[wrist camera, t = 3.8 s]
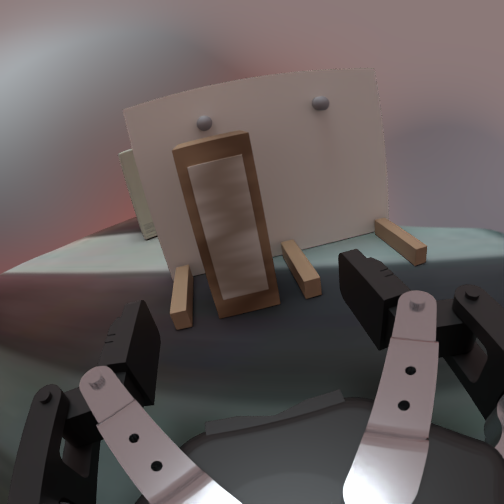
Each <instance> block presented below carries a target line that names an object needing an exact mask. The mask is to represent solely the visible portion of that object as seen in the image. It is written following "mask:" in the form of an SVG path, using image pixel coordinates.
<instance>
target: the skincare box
mask: <svg viewBox="0 0 504 504" xmlns="http://www.w3.org/2000/svg"><path fill="white" fill-rule="evenodd" d="M118 156H119V160H120V163H121V167H122V171H123V174H124V178H125V181H126V184H127V188H128V191H129V194H130V198H131V201H132V204H133V207H134V210H135V213H136V216H137V219H138V222H139V225H140V228H141V231H142V234H143V236H144V238H145V239H149V238H151V237H154V236H157V232H156V229H155V226H154V223H153V220H152V217H151V214H150V210H149V207H148V204H147V200H146V197H145V194H144V190H143V187H142V183H141V180H140V176H139V173H138V169H137V165H136V162H135V158H134V154H133V150H132V149H130V150H127V151H124V152H121V153H119V154H118Z"/></svg>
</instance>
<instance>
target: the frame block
mask: <svg viewBox="0 0 504 504" xmlns="http://www.w3.org/2000/svg"><path fill="white" fill-rule="evenodd" d="M172 154H173V158H174V162H175V166H176V170H177V173H178V177H179V181H180V185H181V189H182V193H183V196H184V200H185V204H186V207H187V211H188V215H189V218H190V222H191V225H192V229H193V233H194V236H195V240H196V243H197V246H198V250H199V253H200V257H201V260H202V263H203V267H204V270H205V273H206V277H207V280H208V283H209V286H210V290H211V293H212V296H213V299H214V302H215V306H216V309H217V312H218V315H219V318H220V319H221V318H225V317H229V316H233V315H238V314H242V313H246V312H250V311H254V310H258V309H262V308H266V307H270V306H274V305H278V304H281V303H280V298H279V292H278V286H277V280H276V275H275V269H274V264H273V258H272V252H271V247H270V241H269V236H268V231H267V225H266V220H265V214H264V209H263V204H262V198H261V193H260V188H259V183H258V178H257V172H256V167H255V162H254V157H253V152H252V147H251V142H250V137H249V132H245V131H242V130H237V131H232V132H228V133H223V134H219V135H214V136H210V137H206V138H201V139H197V140H193V141H189V142H185V143H182V144H178V145H177V146H176V147H175V148H174V149H173V150H172Z"/></svg>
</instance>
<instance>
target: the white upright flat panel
mask: <svg viewBox="0 0 504 504" xmlns="http://www.w3.org/2000/svg"><path fill="white" fill-rule="evenodd" d="M123 113H124V118H125V122H126V126H127V131H128V134H129V139H130V143H131V147H132V150H133V154H134V158H135V162H136V165H137V169H138V173H139V176H140V180H141V183H142V187H143V190H144V194H145V197H146V200H147V204H148V207H149V210H150V214H151V217H152V220H153V223H154V226H155V229H156V232H157V235H158V239H159V242H160V245H161V248H162V250H163V253H164V256H165V259H166V262H167V265H168V268H169V271H170V273H171V276H172V279H173V281H174V285H173V293H172V300H171V308H170V315H171V318H172V320H173V323H174V325H175V327H176V330H179V329H183V328H188V327H192V315H193V276H196V275H200V274H204V273H205V270H204V267H203V263H202V260H201V257H200V253H199V250H198V246H197V243H196V240H195V236H194V233H193V229H192V225H191V222H190V218H189V215H188V211H187V207H186V204H185V200H184V196H183V193H182V189H181V185H180V181H179V177H178V173H177V170H176V166H175V162H174V158H173V154H172V150H173V149H174V148H175V147H176V146H177V145H178V144H182V143H185V142H189V141H193V140H197V139H201V138H206V137H210V136H214V135H219V134H223V133H228V132H232V131H237V130H242V131H245V132H249V137H250V142H251V147H252V152H253V157H254V162H255V167H256V172H257V178H258V183H259V188H260V193H261V198H262V204H263V209H264V214H265V220H266V225H267V231H268V236H269V241H270V247H271V252H272V257H274V256H279V255H283V258H284V260H285V262H286V263H287V265H288V267H289V269H290V271H291V272H292V274H293V276H294V278H295V280H296V281H297V283H298V285H299V287H300V289H301V291H302V292H303V294H304V296H305V298H306V299H307V298H311V297H315V296H318V295H322V294H321V282H320V276H319V275H318V274H317V272H316V271H315V269H314V268H313V266H312V265H311V263H310V262H309V261H308V259H307V258H306V256H305V255H304V254H303V252H302V251H301V250H303V249H307V248H311V247H315V246H319V245H323V244H327V243H331V242H335V241H339V240H343V239H347V238H351V237H355V236H359V235H363V234H367V233H371V232H375V234H376V235H377V236H378V237H380V238H381V239H382V240H383V241H385V242H386V243H387V244H389V245H390V246H391V247H392V248H394V249H395V250H396V251H397V252H399V253H400V254H401V255H402V256H404V257H405V258H406V259H407V260H408V261H410V262H411V263H412V264H413V265H414V266H416V265H419V264H422V263H425V262H426V254H427V246H426V245H425V244H424V243H422V242H421V241H419V240H418V239H416V238H415V237H413V236H412V235H410V234H409V233H407V232H406V231H405V230H403V229H402V228H400V227H398V226H397V225H395V224H394V223H392V222H391V221H389V213H388V212H389V211H388V185H387V184H388V182H387V166H386V154H385V141H384V132H383V124H382V115H381V107H380V100H379V93H378V87H377V81H376V75H375V70H374V68H359V69H330V70H313V71H301V72H291V73H282V74H274V75H266V76H259V77H252V78H246V79H240V80H235V81H229V82H224V83H219V84H214V85H210V86H205V87H201V88H196V89H192V90H188V91H184V92H180V93H176V94H172V95H169V96H165V97H161V98H159V99H155V100H151V101H148V102H145V103H141V104H138V105H135V106H132V107H129V108H126V109H123Z"/></svg>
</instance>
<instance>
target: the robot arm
mask: <svg viewBox="0 0 504 504" xmlns="http://www.w3.org/2000/svg"><path fill="white" fill-rule="evenodd" d="M338 261H339V282H340V291H341V294H342V297H343V299H344V301H345V302H346V303H347V305H348V306H349V308H350V309H351V311H352V312H353V313H354V315H355V316H356V318H357V319H358V321H359V322H360V324H361V325H362V326H363V328H364V329H365V331H366V332H367V334H368V335H369V337H370V338H371V340H372V341H373V343H374V344H375V346H376V347H377V349H378V350H379V351H380V350H382V349H385V348H388V352H387V356H386V360H385V365H384V369H383V373H382V376H381V380H380V384H379V388H378V391H377V395H376V398H375V400H372V399H367V398H359V397H347V398H343V396H342V394H341V391H340V389H338V390H335V391H332V392H329V393H326V394H323V395H320V396H316V397H313V398H310V399H307V400H305V401H303V402H301V403H299V404H297V405H295V406H293V407H291V408H289V409H287V410H285V411H283V412H281V413H279V414H277V415H274V416H236V417H231V418H226V419H220V420H214V421H208V422H205V431H206V432H203V433H201V434H199V435H197V436H195V437H193V438H192V439H190V440H189V441H187V442H186V443H185V444H184V445H182V446H181V447H180V448H178V447H177V445H176V444H175V443H174V442H173V441H172V440H171V439H170V438H169V437H168V436H167V435H166V434H165V433H164V432H163V431H162V430H161V428H160V427H159V426H158V425H157V424H156V423H155V422H154V421H153V420H152V418H151V417H150V416H149V415H148V414H147V413H146V411H145V410H144V409H143V407H144V406H150V405H154V399H155V389H156V379H157V369H158V360H159V352H160V343H161V341H160V335H159V331H158V329H157V326H156V324H155V322H154V320H153V318H152V316H151V313H150V311H149V309H148V307H147V304H146V303H145V301H144V300H140V301H136V302H131V303H127V304H125V307H124V310H123V313H122V316H121V317H118V318H117V319H116V320H115V321H114V322H113V324H112V325H111V326H110V329H109V331H108V334H107V336H108V337H106V340H105V344H104V346H103V349H102V352H101V356H100V359H99V362H98V365H97V367H95V368H92V369H91V370H89V371H88V372H87V373H85V375H84V376H83V377H82V379H81V381H80V384H79V387H78V388H75V389H72V390H70V391H67V392H64V393H63V391H62V390H61V389H60V388H59V387H58V386H57V385H54V384H50V385H46V386H44V387H43V388H41V389H40V390H39V391H38V392H37V393H36V394H35V396H34V398H33V401H32V404H31V407H30V410H29V413H28V416H27V420H26V423H25V426H24V430H23V433H22V437H21V441H20V445H19V448H18V452H17V457H16V461H15V465H14V470H13V475H12V480H11V485H10V490H9V496H8V503H7V504H96V491H97V474H98V461H99V450H100V441H101V440H103V439H104V440H105V441H106V443H107V445H108V446H109V448H110V449H111V451H112V452H113V454H114V455H115V457H116V458H117V460H118V461H119V463H120V464H121V466H122V467H123V469H124V470H125V471H126V473H127V474H128V475H129V477H130V478H131V480H132V481H133V482H134V484H135V485H136V486H137V488H138V489H139V490H140V491H141V493H142V495H141V497H140V498H139V499H138V500H137V501H136V503H135V504H504V308H503V307H502V306H501V305H499V304H498V303H497V302H496V301H495V300H494V299H493V298H492V297H491V296H490V295H489V294H488V293H487V292H485V291H484V290H483V289H482V288H480V287H478V286H475V285H462V286H460V287H458V288H457V289H456V291H455V294H454V299H447V300H439V301H436V300H435V299H434V297H433V296H432V295H430V294H428V293H426V292H423V291H411V290H410V289H409V288H408V287H407V286H406V285H405V284H404V283H403V282H402V281H401V280H400V279H399V278H398V277H397V276H396V275H394V273H393V272H392V271H391V270H388V268H387V267H386V266H385V265H384V264H383V263H382V262H381V261H378V260H376V259H374V258H371V257H370V258H366V257H365V256H364V255H363V254H362V253H361V252H360V251H359V250H358V249H354V250H350V251H347V252H343V253H340V254H339V257H338ZM476 338H478V339H479V340H480V341H481V343H482V344H483V345H484V346H485V348H486V350H487V355H488V356H487V355H486V354H485V353H484V351H483V350H482V349H481V348H480V346H479V345H478V344H477V343H476V342H475V341H476ZM440 357H443V358H444V359H445V361H446V362H447V363H448V365H449V366H450V368H451V369H452V370H453V372H454V373H455V375H456V376H457V378H458V379H459V381H460V382H461V383H462V385H463V386H464V388H465V389H466V391H467V392H468V394H469V395H470V397H471V398H472V400H473V401H474V403H475V405H476V406H477V408H478V409H479V411H480V412H481V414H482V416H483V417H484V419H485V420H486V421H485V424H484V434H485V442H483V441H481V440H478V439H475V438H472V437H469V436H466V435H463V434H460V433H457V432H454V431H451V430H449V429H446V428H443V427H441V426H438V425H435V424H433V423H431V418H432V411H433V404H434V396H435V388H436V378H437V367H438V358H440ZM62 437H63V438H64V439H65V446H64V451H63V458H62V459H61V457H60V452H59V450H60V444H61V439H62Z"/></svg>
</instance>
